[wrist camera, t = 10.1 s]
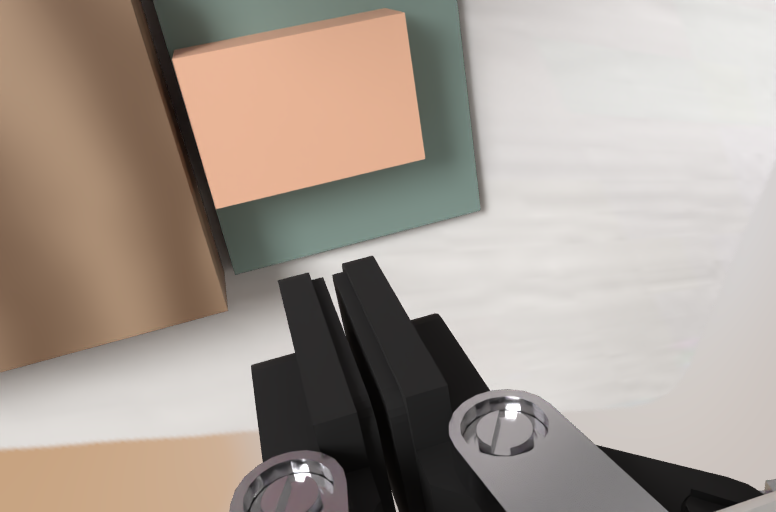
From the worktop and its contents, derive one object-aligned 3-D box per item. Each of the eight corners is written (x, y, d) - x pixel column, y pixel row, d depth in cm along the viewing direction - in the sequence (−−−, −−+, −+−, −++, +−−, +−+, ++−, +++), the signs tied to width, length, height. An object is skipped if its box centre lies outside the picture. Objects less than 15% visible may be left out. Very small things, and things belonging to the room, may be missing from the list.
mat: (440, -99, 28) (445, -100, 28) (476, 206, 34) (480, 210, 34) (140, -45, 26) (139, -45, 26) (234, 269, 32) (235, 274, 32)
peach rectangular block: (385, 8, 29) (404, 12, 26) (405, 142, 31) (425, 158, 29) (174, 49, 27) (172, 59, 25) (213, 187, 30) (216, 209, 27)
